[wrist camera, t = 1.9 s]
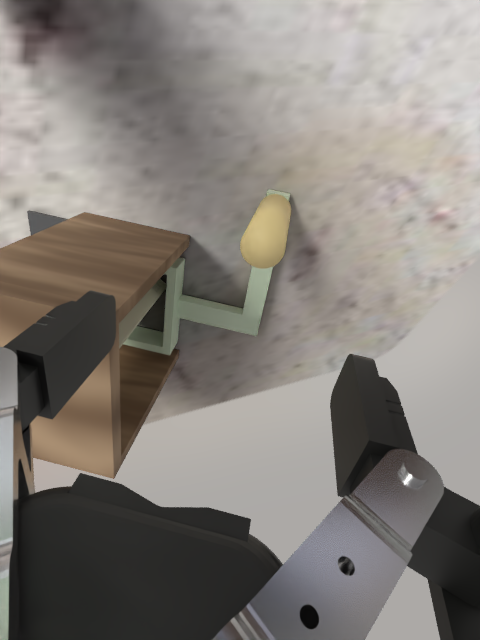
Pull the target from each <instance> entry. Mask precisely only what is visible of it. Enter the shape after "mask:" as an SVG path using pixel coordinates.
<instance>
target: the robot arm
mask: <svg viewBox="0 0 480 640" xmlns="http://www.w3.org/2000/svg"><path fill="white" fill-rule="evenodd" d="M115 338H116V301H115V297H114V296H113V295H109V294H105V293H100V292H96V291H92V290H90V291H88V292H87V293H86V294H84V295H83V296H82V297H81V298H79V299H78V300H77V301H69V302H67V303H64V304H61V305H59V306H56V307H55V308H54V309H52V310H51V311H50V312H48V313H47V314H46V315H45V317H44V316H43V317H42V318H40V319H39V320H38V321H37V322H36V324H35V323H34V324H33V325H31V326H30V327H29V328H27V329H26V330H25V331H23V332H22V333H21V334H19V335H18V336H17V337H15V338H14V339H13V340H11V341H10V342H9V343H8V344H6V345H5V346H4V347H0V640H365V638H366V637H367V635H368V633H369V631H370V630H371V628H372V626H373V624H374V623H375V621H376V619H377V617H378V616H379V614H380V612H381V610H382V608H383V607H384V605H385V603H386V601H387V600H388V598H389V596H390V594H391V593H392V591H393V589H394V587H395V586H396V584H397V582H398V580H399V579H400V577H401V575H402V573H403V572H404V570H405V568H406V566H408V567H410V568H411V569H413V570H415V571H416V572H418V573H419V574H421V575H423V576H424V577H426V578H427V579H428V583H429V588H430V593H431V598H432V602H433V607H434V611H435V616H436V621H437V626H438V631H439V635H440V640H480V506H479V505H477V504H475V503H473V502H471V501H469V500H468V499H466V498H464V497H462V496H460V495H458V494H456V493H454V492H452V491H450V490H449V489H447V488H446V487H444V484H443V481H442V479H441V477H440V475H439V473H438V472H437V470H436V469H435V468H434V467H433V466H432V465H431V464H430V463H429V462H428V461H427V460H425V459H424V458H423V457H421V456H420V455H418V453H417V450H416V448H415V444H414V441H413V438H412V436H411V432H410V430H409V426H408V423H407V420H406V417H404V411H403V408H402V406H401V402H400V399H399V396H398V393H397V391H396V389H395V388H394V387H393V385H392V384H391V383H390V382H389V381H388V379H387V378H383V377H379V375H378V371H377V368H376V364H375V361H374V360H373V359H370V358H366V357H362V356H357V355H353V354H349V355H348V357H347V359H346V361H345V363H344V365H343V368H342V370H341V372H340V375H339V377H338V379H337V382H336V384H335V386H334V389H333V392H332V396H331V403H330V408H331V421H332V433H333V444H334V457H335V469H336V480H337V492H338V496H340V497H344V498H343V499H342V500H341V501H340V502H339V503H338V504H337V505H336V507H334V508H333V510H332V511H331V512H330V513H329V514H328V515H327V516H326V517H325V519H324V520H323V521H322V522H321V523H320V524H319V525H318V526H317V527H316V529H315V530H314V531H313V532H312V533H311V534H310V535H309V536H308V538H307V539H306V540H305V541H304V542H303V543H302V544H301V545H300V547H299V548H298V549H297V550H296V551H295V552H294V554H292V555H291V557H290V558H289V559H288V560H287V561H286V562H285V563H284V564H282V563H281V561H280V560H279V559H278V558H277V557H276V555H275V554H274V553H273V552H272V551H271V550H270V549H269V548H268V547H267V546H266V545H265V544H263V543H262V542H261V541H259V540H258V539H257V538H255V537H253V536H252V535H250V534H249V529H250V522H251V519H249V518H245V517H241V516H238V515H234V514H230V513H226V512H223V511H219V510H215V509H211V508H191V507H189V508H188V507H185V508H184V507H181V508H179V507H176V508H175V507H160V506H157V505H155V504H153V503H152V502H150V501H149V500H147V499H145V498H144V497H142V496H140V495H139V494H137V493H135V492H134V491H132V490H130V489H129V488H127V487H125V486H124V485H122V484H119V483H115V482H111V481H108V480H104V479H100V478H97V477H93V476H89V475H86V474H82V473H80V474H79V476H78V478H77V479H76V481H75V482H74V484H73V485H72V487H59V488H53V489H48V490H43V491H40V492H37V493H35V488H34V474H33V473H34V472H33V450H32V429H31V424H30V423H31V422H32V421H33V420H34V419H35V418H36V416H41V417H45V418H48V419H52V420H53V418H54V417H55V416H56V415H57V414H58V412H59V411H60V410H61V409H62V408H63V406H64V405H65V404H66V403H67V402H68V401H69V399H70V398H71V397H72V396H73V395H74V393H75V392H76V391H77V390H78V389H79V387H80V386H81V385H82V384H83V383H84V381H85V380H86V379H87V378H88V377H89V375H90V374H91V373H92V372H93V371H94V370H95V368H96V367H97V366H98V365H99V364H100V362H101V361H102V360H103V359H104V358H105V356H106V355H107V354H108V353H109V352H110V350H111V349H112V347H113V345H114V342H115Z"/></svg>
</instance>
